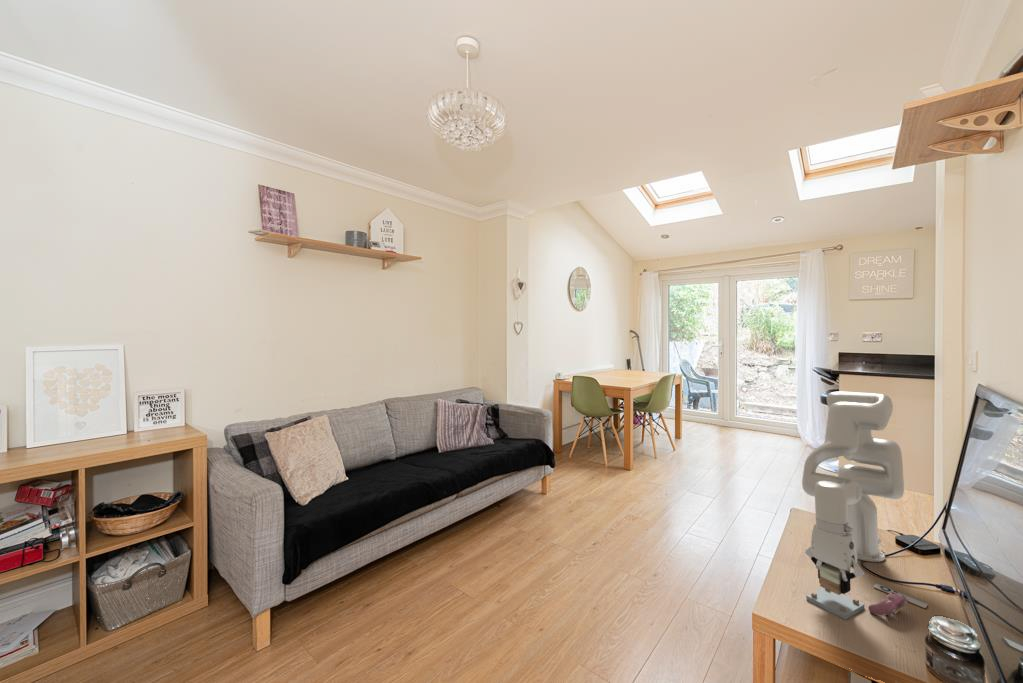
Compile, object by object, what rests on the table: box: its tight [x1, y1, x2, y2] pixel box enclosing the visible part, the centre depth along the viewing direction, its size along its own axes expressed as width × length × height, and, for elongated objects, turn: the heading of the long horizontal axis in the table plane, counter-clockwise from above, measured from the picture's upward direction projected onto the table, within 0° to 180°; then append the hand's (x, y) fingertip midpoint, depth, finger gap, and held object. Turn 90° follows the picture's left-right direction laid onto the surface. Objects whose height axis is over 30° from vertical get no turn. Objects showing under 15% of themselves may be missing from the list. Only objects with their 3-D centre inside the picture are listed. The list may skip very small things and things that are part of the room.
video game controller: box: [868, 592, 909, 617], centre depth 113 cm, size 10×5×7 cm, turn 114°
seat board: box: [805, 587, 866, 620], centre depth 118 cm, size 10×10×2 cm
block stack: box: [819, 563, 842, 595], centre depth 118 cm, size 5×5×6 cm
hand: (834, 586), depth 118 cm, fingers closed on block stack, 4 cm apart
